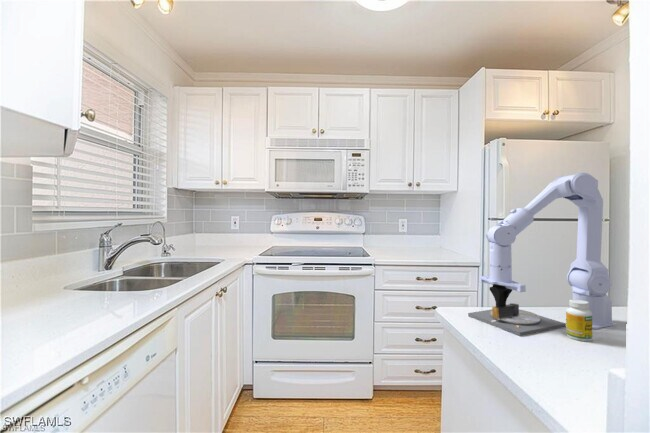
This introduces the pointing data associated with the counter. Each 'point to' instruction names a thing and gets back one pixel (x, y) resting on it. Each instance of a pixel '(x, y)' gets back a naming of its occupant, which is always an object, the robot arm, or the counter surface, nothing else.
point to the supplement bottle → (579, 320)
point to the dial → (514, 315)
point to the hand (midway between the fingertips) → (501, 310)
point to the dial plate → (518, 329)
